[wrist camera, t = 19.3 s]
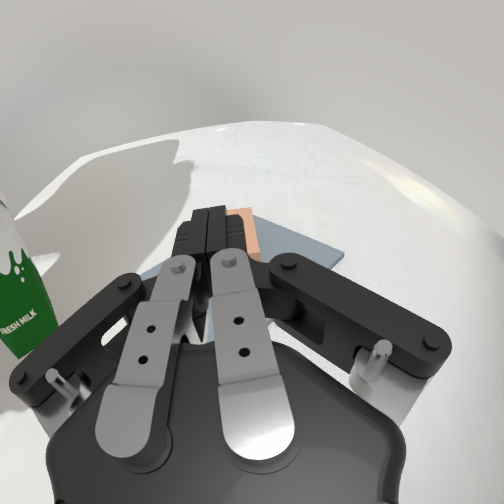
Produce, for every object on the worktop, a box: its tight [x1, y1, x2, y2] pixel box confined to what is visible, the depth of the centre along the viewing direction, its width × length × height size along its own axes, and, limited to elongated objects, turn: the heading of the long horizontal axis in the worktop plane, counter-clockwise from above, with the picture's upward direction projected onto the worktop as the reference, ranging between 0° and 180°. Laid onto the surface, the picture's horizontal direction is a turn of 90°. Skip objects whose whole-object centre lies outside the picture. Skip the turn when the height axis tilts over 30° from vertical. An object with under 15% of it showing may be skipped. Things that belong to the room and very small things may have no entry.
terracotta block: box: [227, 207, 261, 262], centre depth 34 cm, size 4×6×10 cm
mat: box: [139, 215, 344, 343], centre depth 33 cm, size 20×16×1 cm
